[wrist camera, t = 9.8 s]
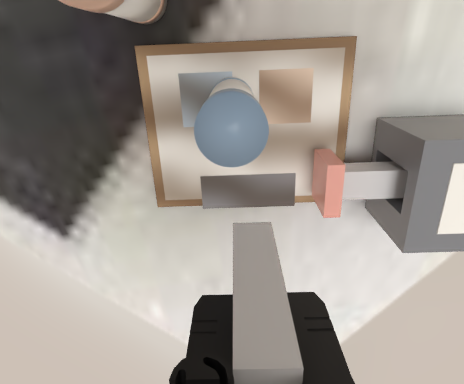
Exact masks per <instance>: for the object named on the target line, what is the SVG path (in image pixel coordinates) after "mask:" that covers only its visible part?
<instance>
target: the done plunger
mask: <svg viewBox="0 0 464 384" xmlns="http://www.w3.org/2000/svg"><path fill="white" fill-rule="evenodd" d="M408 172H409V171H407V170H406V169H404V168H403V167H401V166H400V165H399V164H397V163H396V162H394V161H390V162H362V163H343V162H342V161H341V160H340V159H339V158H338V157H337V156H336V155H335V153H334V152H333V151H332V150H331V149H315V151H314V167H313V183H312V197H313V199H314V201H315V203H316V204H317V206H318V208H319V210H320V212H321V214H322V216H323V218H332V217H340V214H341V204H342V200H360V199H391V198H404V193H405V188H406V182H407V177H408Z"/></svg>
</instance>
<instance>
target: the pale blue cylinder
mask: <svg viewBox="0 0 464 384" xmlns="http://www.w3.org/2000/svg"><path fill="white" fill-rule="evenodd" d="M268 135H269V125H268V121H267V118H266V115H265V113H264V111H263V109H262V107H261V105H260V104H259V102H258V101H257V100H256V99H255V97H254V95H253V92H252V90H251V88H250V87H249V85H248V84H247V83H246V82H245V81H244V80H242V79H240V78H237V77H226V78H224V79H222V80H220V81H219V82H218V83H217V84H216V85H215V86H214V87H213V89H212V91H211V93H210V96H209V98H208V99H207V100H206V101H205V102H204V104H203V105H202V107H201V109H200V111H199V113H198V115H197V117H196V120H195V124H194V136H195V140H196V144H197V146H198V148H199V150H200V151H201V152H202V154H203V155H204V156H205V157H206V158H207V159H208V160H210V161H211V162H213V163H215V164H217V165H220V166H223V167H240V166H243V165H246V164H248V163H250V162H252V161H253V160H255V159H256V158H257V157H258V156H259V155H260V154H261V152H262V151H263V149H264V148H265V146H266V143H267V140H268Z"/></svg>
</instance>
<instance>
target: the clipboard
mask: <svg viewBox="0 0 464 384" xmlns="http://www.w3.org/2000/svg"><path fill="white" fill-rule="evenodd" d="M356 40H357V36H351V37H328V38H305V39H282V40H259V41H236V42H213V43H190V44H167V45H144V46H135V52H136V59H137V66H138V73H139V80H140V87H141V94H142V101H143V108H144V115H145V122H146V128H147V135H148V142H149V149H150V156H151V163H152V170H153V177H154V184H155V191H156V198H157V205H158V207H172V206H203V209H204V208H236V207H267V206H294V204H295V203H296V202H315V201H314V199H313V197H312V183H313V167H314V151H315V149H331V150H332V151H333V152H334V153H335V155H336V156H337V157H338V158H339V159H340V160H341V161H342V162H343V163H344V158H345V148H346V139H347V129H348V119H349V109H350V99H351V89H352V79H353V70H354V60H355V50H356ZM226 77H237V78H240V79H242V80H244V81H245V82H246V83H247V84H248V85H249V87H250V88H251V90H252V92H253V95H254V97H255V99H256V100H257V101H258V102H259V104H260V105H261V107H262V109H263V111H264V113H265V115H266V118H267V121H268V125H269V135H268V140H267V143H266V146H265V148H264V149H263V151H262V152H261V154H260V155H259V156H258V157H257V158H256V159H255V160H253V161H252V162H250V163H248V164H246V165H243V166H240V167H223V166H220V165H217V164H215V163H213V162H211V161H210V160H208V159H207V158H206V157H205V156H204V155H203V154H202V152H201V151H200V150H199V148H198V146H197V144H196V140H195V136H194V124H195V120H196V117H197V115H198V113H199V111H200V109H201V107H202V105H203V104H204V102H205V101H206V100H207V99H208V98H209V96H210V93H211V91H212V89H213V87H214V86H215V85H216V84H217V83H218V82H219V81H220V80H222V79H224V78H226Z"/></svg>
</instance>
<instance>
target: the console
mask: <svg viewBox="0 0 464 384" xmlns="http://www.w3.org/2000/svg"><path fill="white" fill-rule="evenodd" d="M390 161H394V162H396V163H397V164H399V165H400V166H401V167H403V168H404V169H406V170H407V171H409V172H408V177H407V182H406V188H405V193H404V198H391V199H366V205H365V208H366V209H367V210H368V211H369V213H370V214H371V215H372V216H373V217H374V219H375V220H376V221H377V222H378V224H379V225H380V226H381V227H382V228H383V230H384V231H385V232H386V233H387V234H388V236H389V237H390V238H391V239H392V240H393V242H394V243H395V244H396V245H397V246H398V248H399V249H400V250H401V251H402V253H419V252H454V251H464V115H440V116H413V117H387V118H377V124H376V131H375V139H374V146H373V153H372V161H371V162H390Z"/></svg>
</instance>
